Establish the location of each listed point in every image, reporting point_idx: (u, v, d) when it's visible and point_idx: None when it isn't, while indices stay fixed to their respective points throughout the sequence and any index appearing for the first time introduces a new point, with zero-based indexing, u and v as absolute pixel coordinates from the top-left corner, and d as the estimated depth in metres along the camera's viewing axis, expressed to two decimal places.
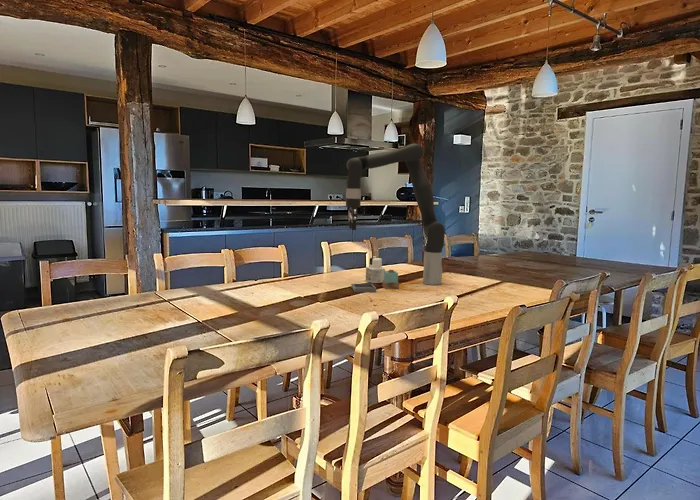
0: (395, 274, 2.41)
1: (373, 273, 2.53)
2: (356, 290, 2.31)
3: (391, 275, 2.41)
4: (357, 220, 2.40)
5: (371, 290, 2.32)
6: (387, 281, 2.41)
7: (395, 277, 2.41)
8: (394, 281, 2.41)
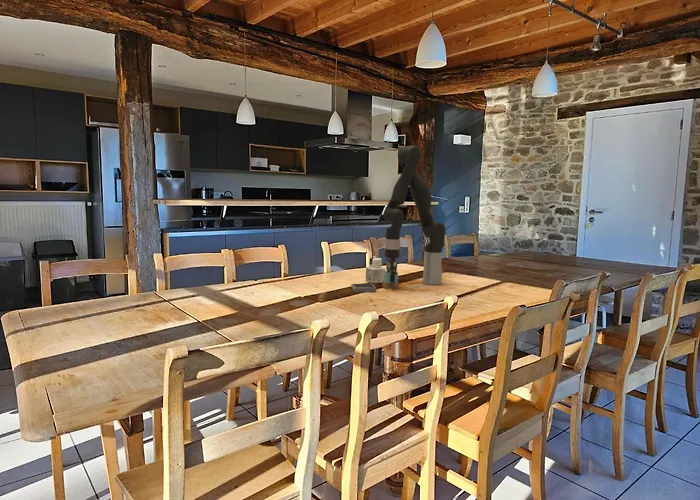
0: (395, 274, 2.41)
1: (373, 273, 2.53)
2: (356, 290, 2.31)
3: None
4: None
5: (371, 290, 2.32)
6: (387, 281, 2.41)
7: (395, 277, 2.41)
8: None
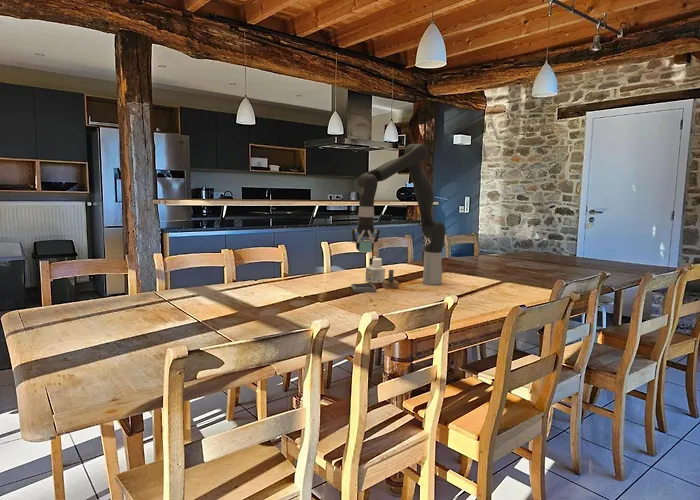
0: (359, 242, 2.32)
1: (373, 273, 2.53)
2: (356, 290, 2.31)
3: None
4: (354, 240, 2.31)
5: (371, 290, 2.32)
6: None
7: (359, 246, 2.32)
8: (359, 250, 2.33)
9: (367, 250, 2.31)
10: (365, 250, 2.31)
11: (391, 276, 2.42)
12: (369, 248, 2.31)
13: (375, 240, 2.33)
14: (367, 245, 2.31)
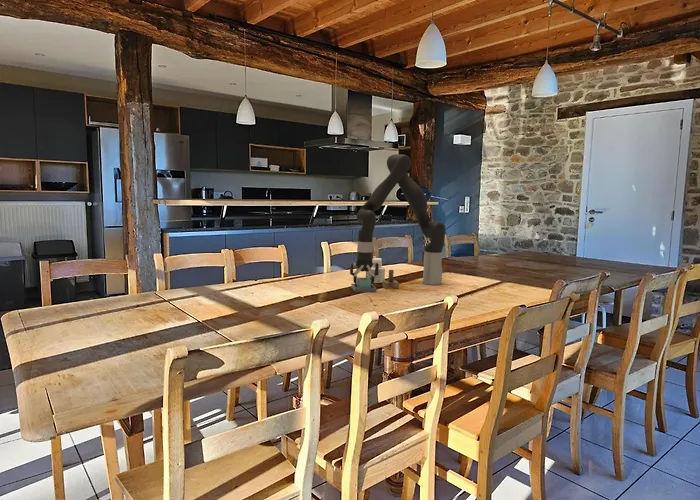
0: (358, 280, 2.34)
1: None
2: (356, 290, 2.31)
3: (357, 280, 2.36)
4: (351, 274, 2.33)
5: (371, 290, 2.32)
6: (357, 286, 2.38)
7: (358, 283, 2.34)
8: (358, 287, 2.35)
9: None
10: None
11: (391, 276, 2.42)
12: (368, 286, 2.34)
13: (376, 274, 2.35)
14: (366, 283, 2.33)
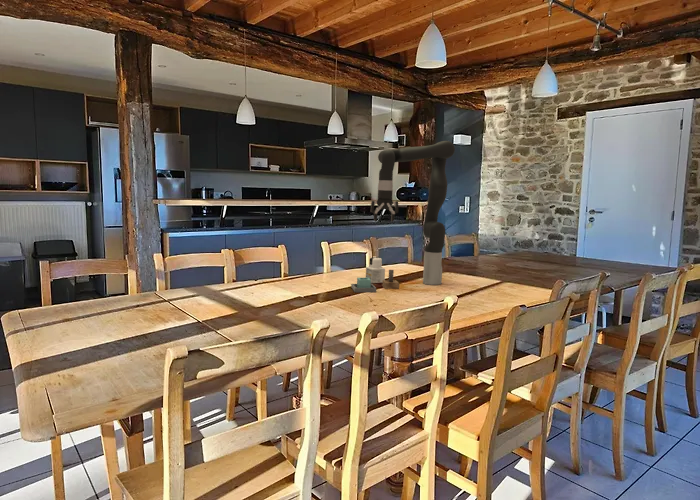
0: (358, 280, 2.34)
1: (373, 273, 2.53)
2: (356, 290, 2.31)
3: (357, 280, 2.36)
4: (371, 211, 2.44)
5: (371, 290, 2.32)
6: (357, 286, 2.38)
7: (358, 283, 2.34)
8: (358, 287, 2.35)
9: None
10: None
11: (391, 276, 2.42)
12: (368, 286, 2.34)
13: (396, 211, 2.46)
14: (366, 283, 2.33)
